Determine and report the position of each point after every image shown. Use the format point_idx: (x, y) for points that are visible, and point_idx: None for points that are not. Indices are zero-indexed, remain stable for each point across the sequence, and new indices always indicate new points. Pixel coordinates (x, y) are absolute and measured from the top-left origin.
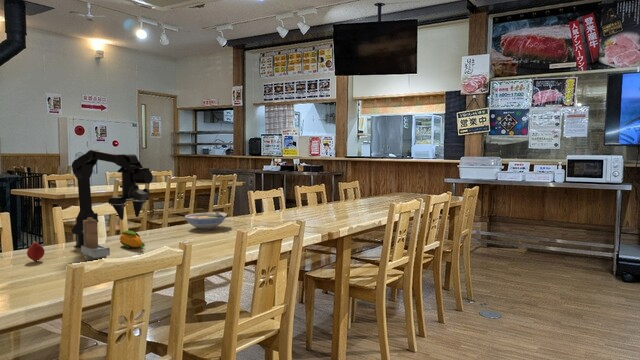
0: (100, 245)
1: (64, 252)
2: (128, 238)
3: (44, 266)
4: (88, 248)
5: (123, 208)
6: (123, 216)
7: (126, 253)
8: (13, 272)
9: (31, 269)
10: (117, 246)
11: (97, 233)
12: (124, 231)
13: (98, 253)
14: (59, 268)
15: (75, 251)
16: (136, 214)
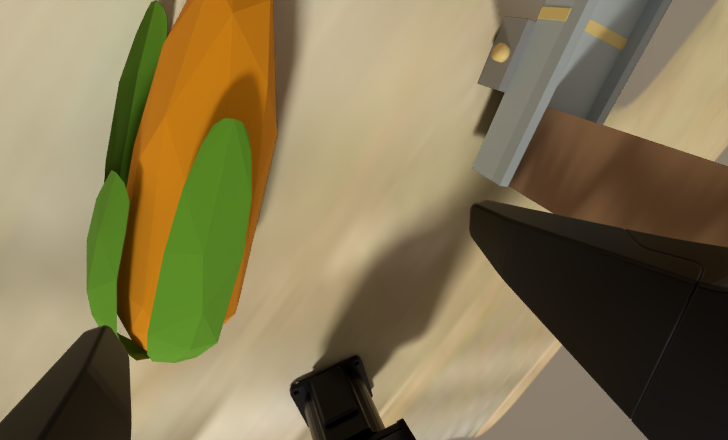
0: (548, 95)
1: (454, 320)
2: (263, 170)
3: (653, 139)
4: (628, 76)
5: (715, 278)
6: (513, 219)
7: (361, 8)
8: (713, 145)
9: (687, 134)
10: None
11: (635, 136)
12: (211, 328)
13: None
14: (690, 42)
15: (426, 309)
16: (115, 382)
